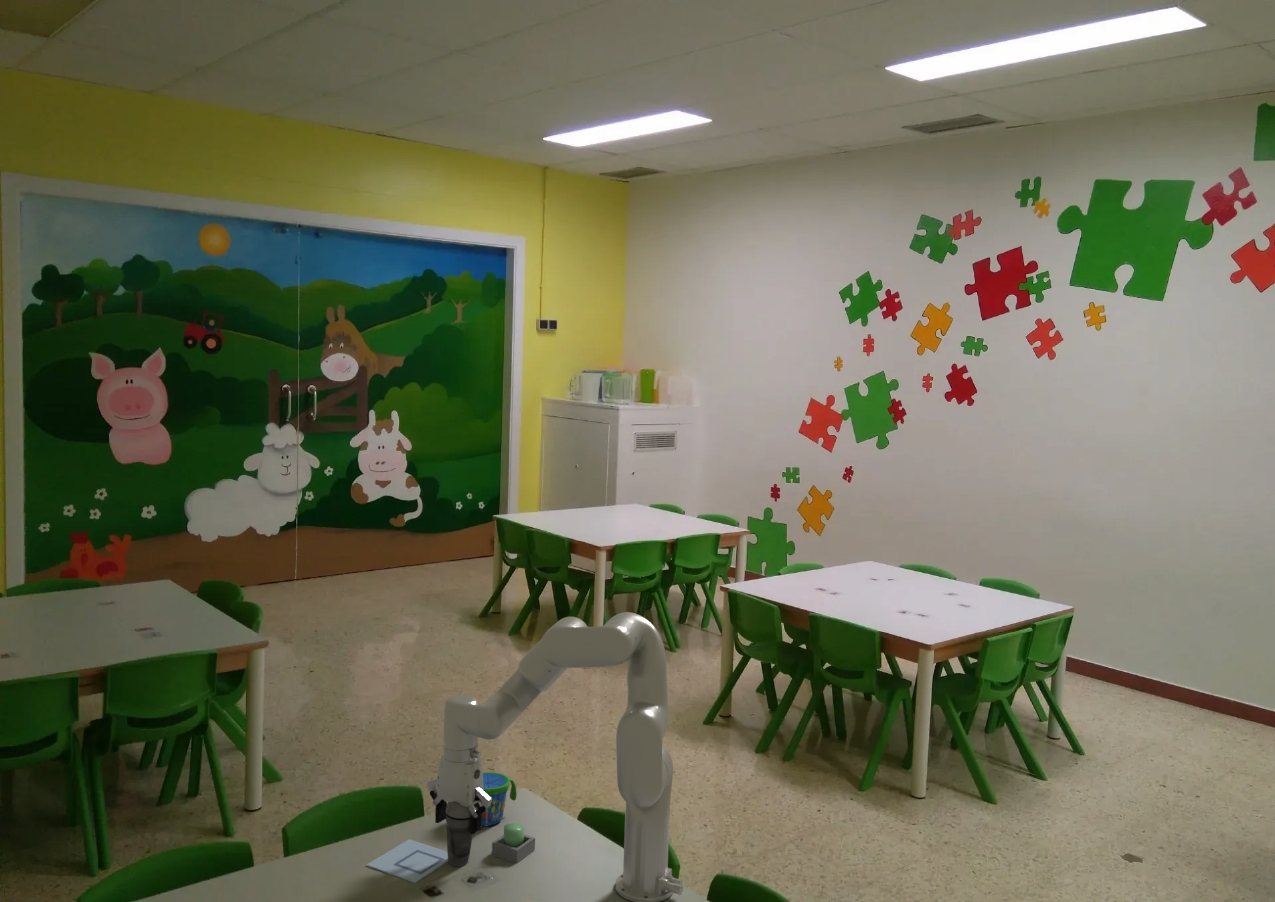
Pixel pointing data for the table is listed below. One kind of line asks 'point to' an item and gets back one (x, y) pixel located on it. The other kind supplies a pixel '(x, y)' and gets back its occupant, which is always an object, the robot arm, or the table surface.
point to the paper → (410, 861)
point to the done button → (514, 834)
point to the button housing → (513, 849)
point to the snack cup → (496, 796)
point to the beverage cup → (458, 833)
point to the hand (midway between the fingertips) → (457, 826)
